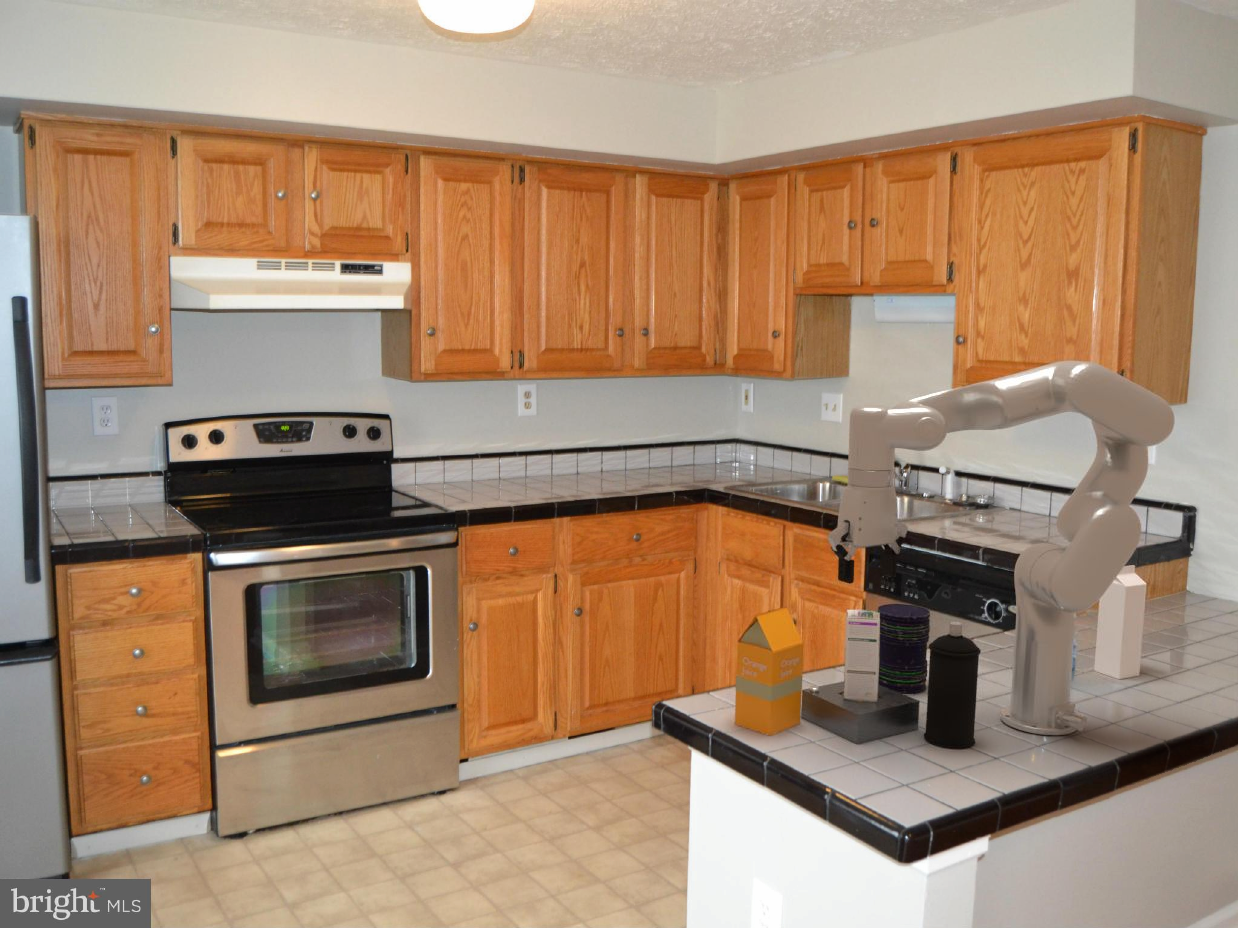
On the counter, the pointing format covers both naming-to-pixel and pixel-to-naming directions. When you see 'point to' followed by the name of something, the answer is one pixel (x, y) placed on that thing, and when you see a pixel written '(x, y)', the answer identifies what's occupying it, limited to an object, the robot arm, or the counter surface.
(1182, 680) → the counter surface
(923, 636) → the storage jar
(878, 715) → the breaker box
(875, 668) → the syrup box
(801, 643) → the orange juice
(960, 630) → the aerosol can
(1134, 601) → the milk
